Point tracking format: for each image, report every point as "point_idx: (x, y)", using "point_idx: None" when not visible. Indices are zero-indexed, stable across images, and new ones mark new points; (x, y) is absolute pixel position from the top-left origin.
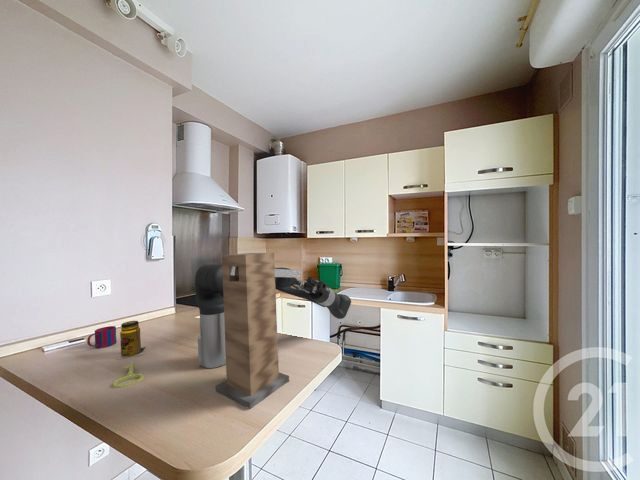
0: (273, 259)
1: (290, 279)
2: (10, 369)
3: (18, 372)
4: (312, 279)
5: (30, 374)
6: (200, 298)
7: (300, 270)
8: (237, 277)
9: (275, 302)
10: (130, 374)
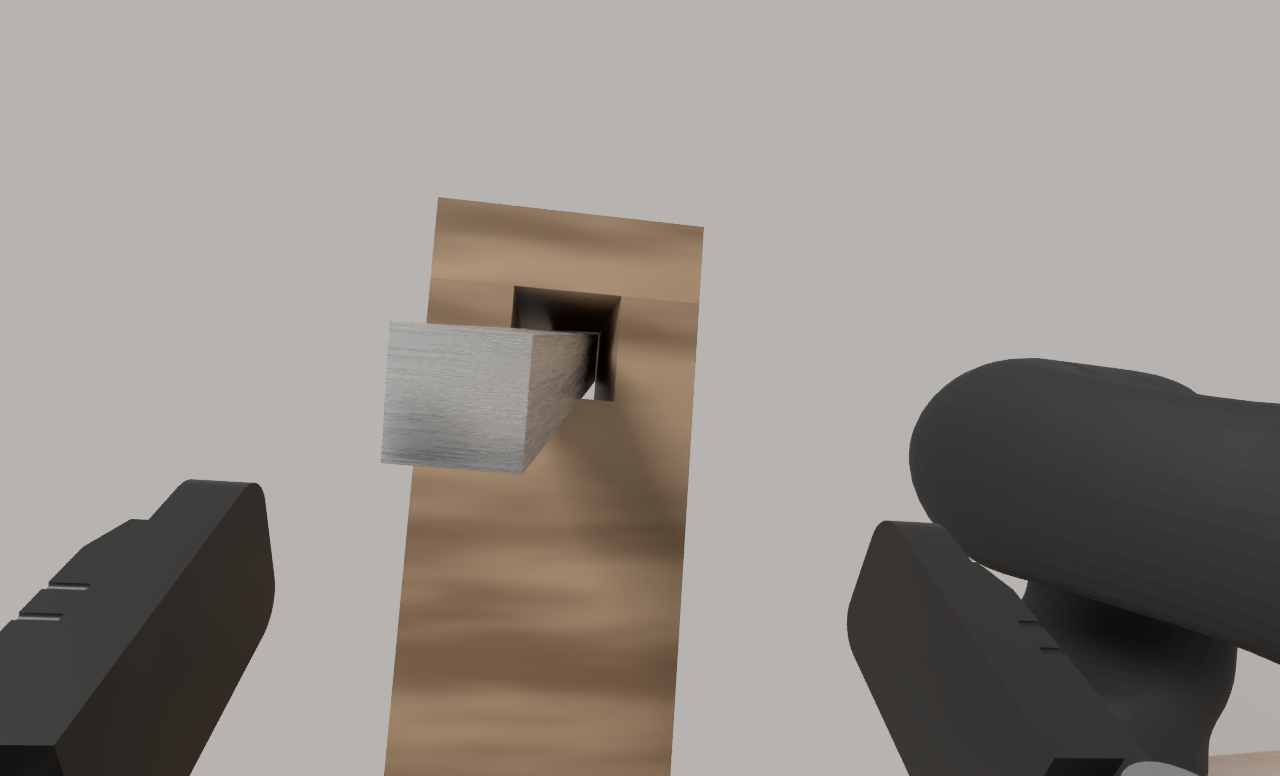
0: (435, 250)
1: (866, 610)
2: (1275, 751)
3: (1239, 755)
4: (93, 567)
5: (1208, 764)
6: (1026, 594)
7: (392, 322)
8: (598, 397)
9: (402, 589)
10: None
